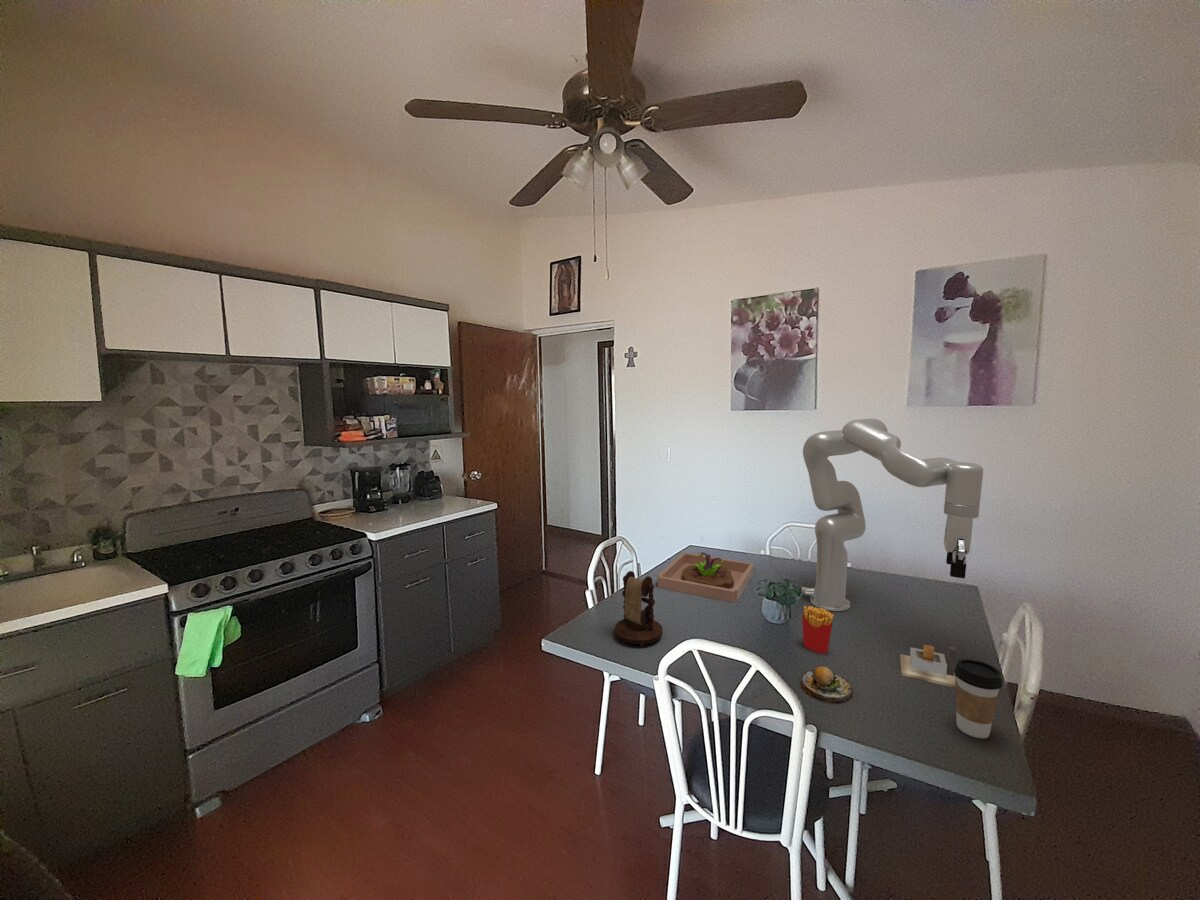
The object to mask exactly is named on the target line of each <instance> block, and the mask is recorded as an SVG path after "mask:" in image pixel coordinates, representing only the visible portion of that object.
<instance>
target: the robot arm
mask: <svg viewBox="0 0 1200 900" xmlns="http://www.w3.org/2000/svg"><path fill="white" fill-rule="evenodd" d="M803 444H804V445H803V448H802V456H803V460H804V463H805V466H806V469H807V472H808V477H809V483H810V488H811V493H812V498H813V502H814V504H815V506H816V508H817V509H818V510H820V511H824V512H829V511H831V512H832V511H834V510H837V513H832V514H827V515H824V516H821V517H820V518H819V519H818V520H817V521H816V523H815V525H814V534H815V538H816V570H815V571H816V573H815V586H814V587H807V586H801V593H804V595H805V596H810V598H809V601H810V603H811V604H812V605H813V606H814V607H817V608H819V609H820V608H823V609H826V611H829V612H830V611H831V612H844V611H848V610H849V609H850V608H851V602H850V600H848V599H847V598H846V596H847V595H846V593H847V592H846V591H847V577H848V574H847V573H848V552H847V548H846V546H845V543H844V542H847V541H853V540H855V539H856V540H857V539H858V538H861V537H862V536H864V534H865V531H866V529H867V528H866V526H867V525H866V519H865V515H864V509H863V504H862V500H861V495H860V492H859V491H858V488H857V487H856V486H855V485H854V484H853V483H851V482H850V481H847V480H838V478H837V473H836V469H835V467H834V465H833V464H832V462H831V461H830V460H829V457H836V456H843V455H851V454H853V453H856V452H859V451H862V453H865V454H867V455H869V456H870V457H872V458H874V459H877V460H878V461H879V462H880V464H881V465H882V467H883V468H884V469H885V470H886V471H887V472H888V473H889V474H890V475H891V476H893V477H895V478H897V479H898V480H901V481H902V482H904V483H906V484H909V486H910V485H911V486H913V487H917V488H928V487H929V488H930V487H934V486H935V487H936V486H942V485H945V493H944V494H945V495H944V504H943V514H944V515H946V520H945V521H946V522H945V528H944V536H943V545H944V549H945V551H946V560H945V561H946V562H945V563H946V565H950V567H949V568H950V569H949V576H950V577H952V578H957V579H958V578H959V579H965V578H966V572H967V555H969V554H970V549H971V541H972V534H973V531H972V530H973V521H974V519H978V518H979V515H980V508H981V507H980V506H981V495H982V488H983V480H984V479H983V478H984V477H983V476H984V469H983V467H982V465H981V464H978V463H974V462H973V463H972V462H964V461H957V460H954V459H951V458H947V457H941V456H940V457H931V458H929V457H928V458H924V459H920V458H916V457H914V456H912V455H910V454H907V453H906V452H904V451H903V450H901V447H902V446H901V445H902V441H901V439H900V437H898V436H897V435H895V434H892V433H890V431H889V432H888V427H887V425H886V424H885V423H884V422H883V421H881V420H880V419H876V418H860V419H854V420H850V421H848V422H847V423H846V424H845V425H844V426H843V427H842V429H841V430H827V431H819V432H816V433H814V434H812V435H811V436H809V437H808V438H807V439H806V440H805V442H804V443H803Z"/></svg>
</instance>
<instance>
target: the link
mask: <svg viewBox="0 0 1200 900" xmlns="http://www.w3.org/2000/svg"><path fill="white" fill-rule="evenodd" d="M909 656H910V666H911V671H913V672H917V673H921V674H926V675H930V676H935V677H939V678H943V679H946V672H947V661H946V656H945V653H940V652H935V651H934V660H933V661H930V660H925V659H923V648H922V649H921V648H916V647H910V651H909Z"/></svg>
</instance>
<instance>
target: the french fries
mask: <svg viewBox="0 0 1200 900" xmlns="http://www.w3.org/2000/svg"><path fill="white" fill-rule="evenodd" d="M801 619H802V620H801V622H802V637H803V638H802V639H803V646H804V648H806V649H808V650H810V651H813V652H815V653H817V654H827V653H828V652H829V649H830V647H829V646H830V642H831V637H832V636H831V635H832V630H833V619H834V614H833V613H831V612H830V611H829V610H826V609H823V608H819V607H816V606H814V605H813V606H811V605H809V606H807V605H804V606H803V615H802V616H801Z"/></svg>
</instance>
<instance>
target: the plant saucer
mask: <svg viewBox="0 0 1200 900" xmlns="http://www.w3.org/2000/svg"><path fill="white" fill-rule="evenodd" d="M714 558H717V557H716V556H711V557H710V561H712V560H713V559H714ZM719 558H720V559H722V560H723V563H722V564H721V563H720V560H719V559H716V560H715V561H714V562H713V566H715V565H717V564H720V566H719V567H724V568H726V569H728V570H729V571H731V575H732V577H733V579H734V586H733V587H732V588H722V587H716V586H711V585H706V584H700V583H695V582H690V581H684V580H682V571H683V570H684V569H685V568H687V567H688V566H692V565H695V564H700V562H702V563H703V564H704V562H705V561H706V556H705V554H703V556H702V557H699V553H698V554H697V553H690V552H684V553H683V552H682V553H680V554H679V555H678V557H676V558H675V559H674V560H673V561H671V563H670V564H668V565H667V567H665V568H663V570H662V571H661V572H660V573H659V574H658V575H657V588H659V589H660V588H661V589H663V590H664V589H665V590H669V591H675V592H680V593H684V594H688V595H694V596H699V597H704V598H709V599H713V600H714V599H715V600H719V601H725V602H729V603H735V602H738V601H739V599H740V597H741V596H742V594H743V592H744V591H745V589H746V588H747V586H748V585H749V583H750V581H751V579H752V578H753V576H754V574H755V573H754V572H755V571H754V569H755V565H754V563H753V562H747V561H740V560H734V559H728V558H724V557H723V558H722V557H719Z"/></svg>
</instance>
